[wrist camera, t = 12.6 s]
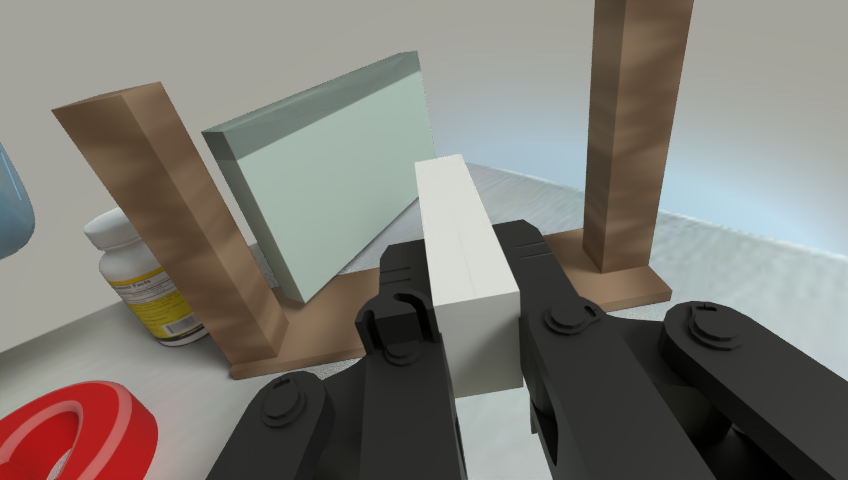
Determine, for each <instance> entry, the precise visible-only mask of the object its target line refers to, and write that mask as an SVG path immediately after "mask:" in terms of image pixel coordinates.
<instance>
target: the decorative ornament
mask: <svg viewBox="0 0 848 480" xmlns="http://www.w3.org/2000/svg"><path fill="white" fill-rule="evenodd" d="M157 441H158V427H157V423H156V420H155V418H154V416H153V415H152V414H151V413H150V412H149V411H148V410H147V409H146V408H145V407H144V406H143V405H142V404H141V403H140V402H139V401H138V400H137V399H136V398H135V397H134V396H133V395H132V394H131V393H130V392H129V391H128V390H127V389H126V388H125V387H124V386H122V385H120V384H118V383H114V382H109V381H87V382H82V383H77V384H73V385H70V386H67V387H64V388H61V389H58V390H55V391H53V392H50V393H48V394H46V395H44V396H42V397H39V398H37V399H35V400H33V401H32V402H30V403H28V404H26V405H24V406H22V407H21V408H19V409H17V410H16V411H14V412H12V413H11V414H9V415H8V416H6V417H5V418H3V419H2V420H0V480H46V479H47V477H48V475H49V473H50V471H51V470H52V468H53V467H54V465H55V464H56V463H57V461H58V460H59V459H60V458H61V457H62V456H63V455H64V454H65V453H66V452H67V451H68V450H69V449H70V448H72V449H71V451H70V453H69V455H68V457H67V459H66V461H65V463H64V465H63V467H62V469H61V471H60V473H59V475H58V476H57V477H56V478H55V479H54V480H143V478H144V477H145V475H146V473H147V471H148V469H149V466H150V464H151V462H152V459H153V457H154V453H155V450H156V446H157Z"/></svg>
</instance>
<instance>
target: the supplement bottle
mask: <svg viewBox="0 0 848 480" xmlns="http://www.w3.org/2000/svg"><path fill="white" fill-rule="evenodd" d="M83 231H84V233H85V234H86V236H87V237H88V238H89V240H90V241H91V242H92V244H93V245H94V246H96V247H97V249H98V250H101V251H105V252H106V253H105V254H104V255H103V256H102V258H101V260H100V263H99V270H100V272H101V274H102V275H103V277H104V278H105V279H106V281H107V282H108V283H109V284H110V285H111V286H112V288H113V289H114V290H115V291H116V292H117V293H118V295H119V296H120V297H121V298H122V299H123V300H124V302H125V303H126V304H127V305H128V306H129V307H130V309H131V310H132V311H133V312H134V313H135V314H136V316H137V317H138V318H139V319H140V320H141V322H142V323H143V324H144V325H145V326H146V327H147V329H148V330H149V331H150V332H151V333H152V334H153V335H154V336H155V338H156V339H157V340H158V341H159V342H161V343H162V344H164V345H167V346H178V345H184V344H187V343H190V342H193V341H195V340H197V339H199V338H201V337H203V336H205V335H206V334H208V333H209V332H208V331H207V330H206V328H205V327H204V325H203V324H202V323H201V321H200V320H199V318H198V317H197V316H196V314H195V313H194V311H193V310H192V308H191V307H190V306H189V304H188V303H187V301H186V300H185V299H184V297H183V296H182V294H181V293H180V292H179V290H178V289H177V287H176V286H175V284H174V283H173V282H172V280H171V279H170V277H169V276H168V275H167V273H166V272H165V270H164V269H163V268H162V266H161V265H160V263H159V262H158V260H157V259H156V258H155V256H154V255H153V253H152V252H151V251H150V249H149V248H148V246H147V245H146V244H145V242H144V241H143V239H142V238H141V237H140V235H139V234H138V232H137V231H136V229H135V228H134V227H133V225H132V224H131V222H130V221H129V220H128V218H127V217H126V215H125V214H124V213H123V211H122V210H121V208H120V207H118V208H116V209H113V210H111V211H109V212H106V213H104V214H102V215H100V216H99V217H97V218H96V219H94V220H92V221H91V222H89V223H88V224H87V225H86V226H85V227H84V229H83Z"/></svg>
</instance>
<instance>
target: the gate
mask: <svg viewBox="0 0 848 480" xmlns="http://www.w3.org/2000/svg"><path fill="white" fill-rule="evenodd" d="M201 133H202V135H203V137H204V139H205V141H206V143H207V145H208V147H209V148H210V151H211V152H212V154H213V156H214V158H215V160H216V162H217V164H218V166H219V168H220V170H221V172H222V174H223V176H224V178H225V180H226V182H227V184H228V186H229V187H230V189H231V191H232V193H233V195H234V197H235V199H236V201H237V203H238V205H239V207H240V209H241V211H242V213H243V215H244V217H245V219H246V221H247V223H248V225H249V227H250V228H251V230H252V232H253V234H254V236H255V238H256V240H257V242H258V244H259V246H260V248H261V250H262V252H263V254H264V256H265V258H266V260H267V262H268V264H269V266H270V267H271V269H272V271H273V273H274V275H275V277H276V279H277V281H278V283H279V285H280V287H281V289H282V291H283V293H284V295H285V297H287V298H290V299H293V300H296V301H299V302H303V303H306V302H307V301H308V300H309V299H310V298H311V297H313V296H314V295H315V294H316V293H317V292H318V291H319V290H320V289H321V288H322V287H323V286H324V285H325V284H326V283H327V282H328V281H329V280H330V279H332V278H333V277H334V276H335V275H336V274H337V273H338V272H339V271H340V270H341V269H342V268H343V267H344V266H345V265H346V264H347V263H348V262H349V261H351V260H352V259H353V258H354V257H355V256H356V255H357V254H358V253H359V252H360V251H361V250H362V249H363V248H364V247H365V246H366V245H367V244H368V243H370V242H371V241H372V240H373V239H374V238H375V237H376V236H377V235H378V234H379V233H380V232H381V231H382V230H383V229H384V228H385V227H386V226H388V225H389V224H390V223H391V222H392V221H393V220H394V219H395V218H396V217H397V216H398V215H399V214H400V213H401V212H402V211H403V210H404V209H405V208H407V207H408V206H409V205H410V204H411V203H412V202H413V201H414V200H415V199H416V198H417V197H418V196H419V194H418V186H417V179H416V171H415V162H420V161H426V160H431V159H436V154H435V148H434V142H433V137H432V131H431V126H430V120H429V114H428V109H427V103H426V98H425V92H424V86H423V80H422V75H421V69H420V63H419V58H418V52H417V51H412V52H404V53H398V54H396V55H393V56H391V57H388V58H385V59H383V60H380V61H378V62H375V63H373V64H370V65H368V66H365V67H363V68H360V69H358V70H355V71H353V72H350V73H348V74H345V75H343V76H340V77H338V78H335V79H333V80H330V81H327V82H325V83H322V84H320V85H317V86H315V87H312V88H310V89H307V90H305V91H302V92H300V93H297V94H295V95H292V96H290V97H287V98H285V99H282V100H280V101H277V102H275V103H272V104H270V105H267V106H265V107H262V108H260V109H257V110H255V111H252V112H250V113H247V114H245V115H242V116H240V117H237V118H234V119H232V120H229V121H227V122H225V123H222V124H219V125H217V126H214V127H212V128H209V129H207V130H204V131H202V132H201Z"/></svg>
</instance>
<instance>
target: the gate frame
mask: <svg viewBox="0 0 848 480" xmlns="http://www.w3.org/2000/svg"><path fill="white" fill-rule="evenodd" d="M693 2H694V0H595V10H594V30H593V49H592V50H593V51H592V69H591V89H590V108H589V128H588V148H587V167H586V187H585V206H584V226H583V228H581V229H575V230H570V231H565V232H560V233H555V234H550V235H544V236H543V238H544V240H545V242H546V243H547V244H548V246H549V248H550V249H551V251H552V254H554V256H555V257H556V259H557V261H558V262H559V264H560V265H561V267H562V269H563V270H564V272H565V274H566V275H567V277H568V278H569V280H570V282H571V283H572V285H573V287H574V288H575V290H576V291H577V293H578V295H579V296H581V297H584V298H586V299H588V300H590V301H592V302H594V303H596V304H597V305H598V306H599V307H600V308H601V309H602V310H603V311H604V312H610V311H615V310H621V309H626V308H632V307H637V306H643V305H648V304H653V303H659V302H664V301H670V299H671V295H672V289H671V288H670V287H669V286H668V285H667V284H666V283H665V282H664V281H663V280H662V279H661V278H660V277H659V276H658V275H657V274H656V273H655V272H654V271H653V270H652V269H651V268H650V267H649V266H648V264H649V259H650V253H651V247H652V241H653V235H654V229H655V224H656V218H657V212H658V206H659V200H660V194H661V189H662V183H663V177H664V170H665V165H666V160H667V154H668V147H669V142H670V136H671V130H672V125H673V118H674V113H675V106H676V101H677V95H678V90H679V84H680V78H681V72H682V66H683V60H684V55H685V49H686V43H687V37H688V31H689V25H690V19H691V14H692V8H693ZM51 111H52V112H53V114H54V115H55V116H56V118H57V119H58V121H59V122H60V123H61V125H62V126H63V128H64V129H65V131H66V132H67V134H68V135H69V136H70V138H71V139H72V141H73V142H74V143H75V145H76V146H77V147H78V149H79V150H80V152H81V153H82V155H83V156H84V157H85V159H86V160H87V162H88V163H89V165H90V166H91V167H92V169H93V170H94V171H95V173H96V174H97V176H98V177H99V179H100V180H101V181H102V183H103V184H104V186H105V187H106V189H107V190H108V191H109V193H110V194H111V196H112V197H113V198H114V200H115V201H116V203H117V204H118V205H119V207H120V208H121V210H122V211H123V213H124V214H125V215H126V217H127V218H128V220H129V221H130V222H131V224H132V225H133V227H134V228H135V229H136V231H137V232H138V234H139V235H140V237H141V238H142V239H143V241H144V242H145V244H146V245H147V246H148V248H149V249H150V251H151V252H152V253H153V255H154V256H155V258H156V259H157V260H158V262H159V263H160V265H161V266H162V268H163V269H164V270H165V272H166V273H167V275H168V276H169V277H170V279H171V280H172V282H173V283H174V284H175V286H176V287H177V289H178V290H179V292H180V293H181V294H182V296H183V297H184V299H185V300H186V301H187V303H188V304H189V306H190V307H191V308H192V310H193V311H194V313H195V314H196V316H197V317H198V318H199V320H200V321H201V323H202V324H203V325H204V327H205V328H206V330H207V331H208V332H209V334H210V335H211V337H212V338H213V339H214V341H215V342H216V344H217V345H218V347H219V348H220V349H221V351H222V352H223V354H224V355H225V356H226V358H227V359H228V361H229V362H230V363H231V365H232V367H231V369H230V371H229V373H230V374H231V375H232V377H233V378H234V380H239V379H244V378H250V377H255V376H261V375H266V374H272V373H277V372H282V371H288V370H293V369H299V368H304V367H310V366H315V365H321V364H326V363H332V362H337V361H342V360H348V359H353V358H359V357H364V356H365V355H366V352H365V349H364V346H363V344H362V341H361V339H360V336H359V334H358V331H357V329H356V326H355V323H354V322H355V319H356V316H357V314H358V311H359V310H360V309H361V308H362V307H363V305H364V304H365V303H366V302H367V301H368V300H370V299H371V298H373V297H375V296H376V295H378V294H379V275H380V267H379V268H374V269H368V270H363V271H358V272H353V273H348V274H343V275H337V276H334V277H333V278H332V279H330V280H329V281H328V282H327V283H326V284H325V285H324V286H323V287H322V288H321V289H320V290H319V291H318V292H317V293H316V294H315V295H314V296H313V297H311V298H310V299H309V300H308V301H307V302H306V303H303V302H299V301H296V300H293V299H290V298H287V297H285V295H284V293H283V291H282V289H281V287H275V288H270V286H269V284H268V283H267V281H266V279H265V277H264V275H263V273H262V271H261V269H260V267H259V266H258V264H257V262H256V260H255V258H254V256H253V254H252V252H251V251H250V249H249V247H248V245H247V243H246V241H245V239H244V237H243V236H242V234H241V232H240V230H239V228H238V226H237V225H236V222H235V221H234V219H233V217H232V215H231V213H230V211H229V209H228V207H227V206H226V204H225V202H224V200H223V198H222V196H221V194H220V192H219V191H218V189H217V187H216V185H215V183H214V181H213V179H212V177H211V176H210V174H209V172H208V170H207V168H206V166H205V164H204V162H203V161H202V159H201V157H200V155H199V153H198V151H197V149H196V147H195V146H194V144H193V142H192V140H191V138H190V136H189V134H188V133H187V131H186V129H185V127H184V125H183V123H182V121H181V119H180V117H179V116H178V114H177V112H176V110H175V108H174V106H173V104H172V102H171V101H170V99H169V97H168V95H167V93H166V91H165V89H164V87H163V86H162V84H161V82H156V83H151V84H147V85H142V86H138V87H133V88H128V89H124V90H120V91H115V92H110V93H106V94H101V95H98V96H94V97H91V98H88V99H85V100H82V101H78V102H75V103H72V104H69V105H66V106H62V107H59V108H56V109H53V110H51Z"/></svg>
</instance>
